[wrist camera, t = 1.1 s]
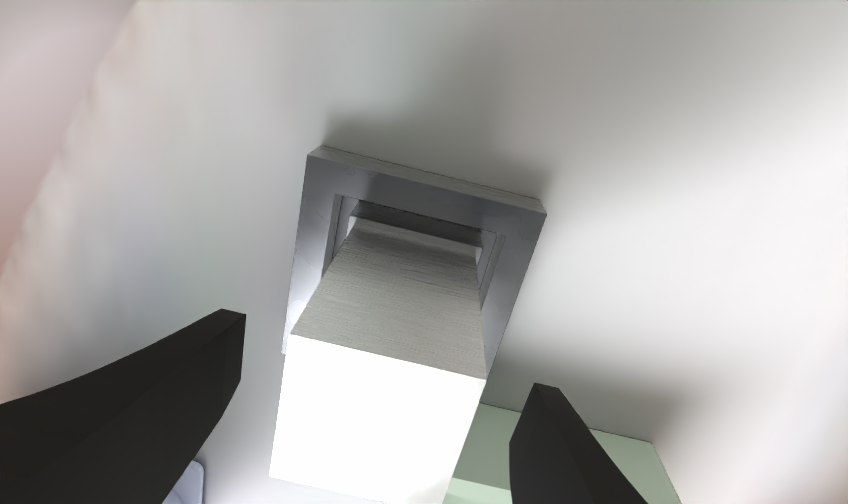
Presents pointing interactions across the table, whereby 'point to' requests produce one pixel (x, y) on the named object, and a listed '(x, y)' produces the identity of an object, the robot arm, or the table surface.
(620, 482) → the robot arm
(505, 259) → the socket
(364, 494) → the strut
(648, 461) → the bin
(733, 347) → the table surface
